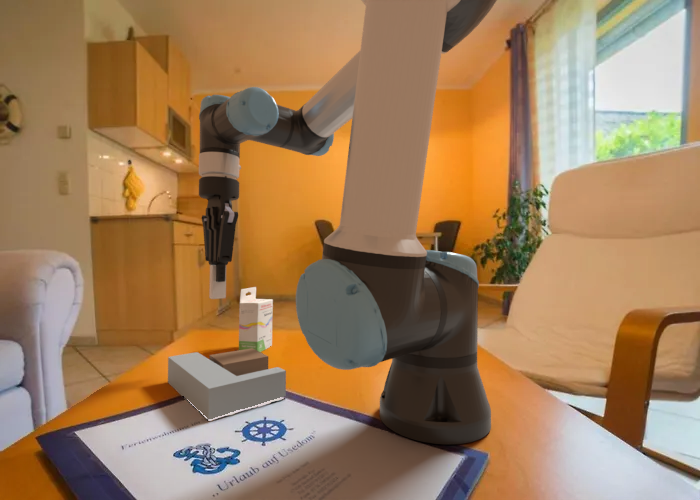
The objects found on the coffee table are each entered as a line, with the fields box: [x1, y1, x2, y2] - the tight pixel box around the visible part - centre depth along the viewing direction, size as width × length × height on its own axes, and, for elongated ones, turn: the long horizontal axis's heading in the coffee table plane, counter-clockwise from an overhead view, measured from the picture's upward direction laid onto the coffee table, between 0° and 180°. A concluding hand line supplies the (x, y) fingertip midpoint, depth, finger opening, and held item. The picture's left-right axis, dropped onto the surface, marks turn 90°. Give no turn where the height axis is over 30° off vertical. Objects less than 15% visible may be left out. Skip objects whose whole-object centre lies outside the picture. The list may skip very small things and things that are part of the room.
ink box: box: [238, 286, 274, 353], centre depth 88 cm, size 9×5×15 cm, turn 168°
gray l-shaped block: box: [167, 351, 287, 419], centre depth 61 cm, size 20×12×4 cm, turn 41°
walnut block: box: [209, 348, 269, 376], centre depth 65 cm, size 7×8×5 cm
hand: (217, 298), depth 71 cm, fingers closed
